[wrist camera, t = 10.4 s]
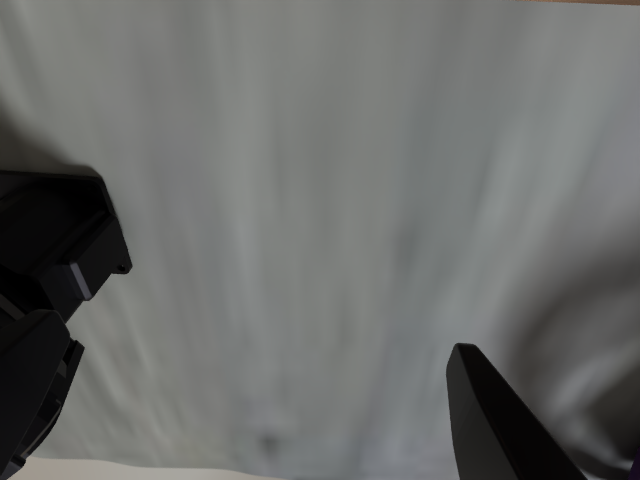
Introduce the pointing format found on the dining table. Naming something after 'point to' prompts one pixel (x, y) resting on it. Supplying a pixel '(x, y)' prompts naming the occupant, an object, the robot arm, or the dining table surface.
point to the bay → (595, 1)
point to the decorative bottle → (635, 467)
